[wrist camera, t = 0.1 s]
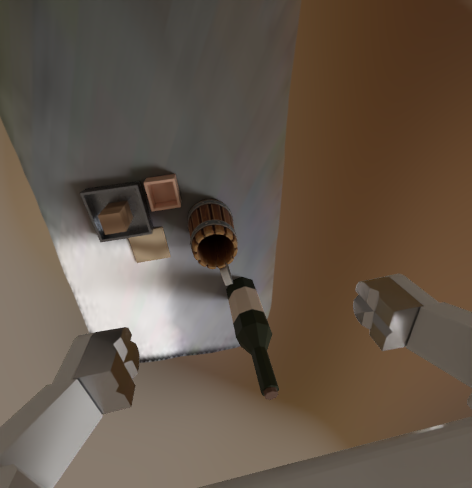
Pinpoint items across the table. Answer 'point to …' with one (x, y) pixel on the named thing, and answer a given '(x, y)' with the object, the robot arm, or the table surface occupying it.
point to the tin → (131, 191)
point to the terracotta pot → (163, 192)
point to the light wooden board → (150, 246)
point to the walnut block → (116, 217)
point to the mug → (213, 236)
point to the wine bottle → (252, 331)
